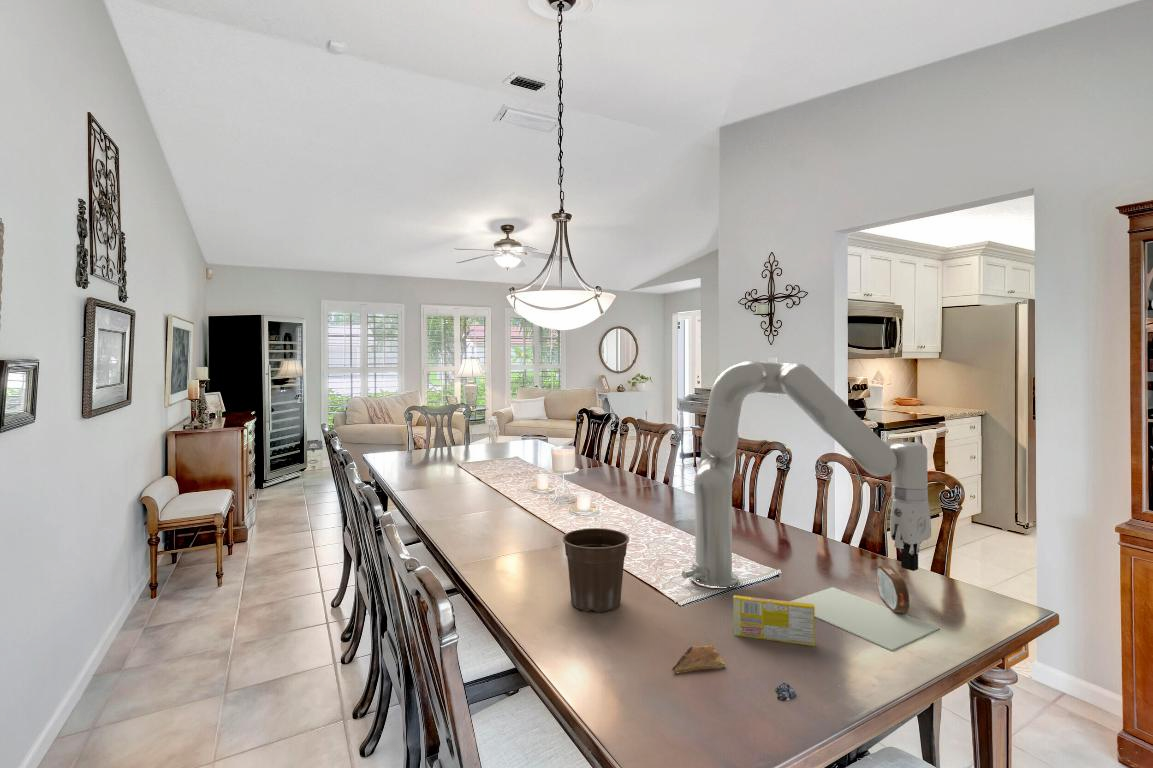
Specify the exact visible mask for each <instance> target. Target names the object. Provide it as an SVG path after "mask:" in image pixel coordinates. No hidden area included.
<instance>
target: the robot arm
mask: <svg viewBox="0 0 1153 768" xmlns="http://www.w3.org/2000/svg"><path fill="white" fill-rule="evenodd" d="M755 393H763V394H764V393H765V394H775V395H776V394H777V395H787V396H788V398H790V399H791V400H792V401H793V402H794V404H796V405H797V406H798V407H799V409H801V410H802V411H803V413H805V414H806V415H807V416H808V417H809V418H810V419H811V420H812V421H813V422H814V424H815V425H816V426H818V427H819V428H820V429H821V430H822V431H823V432H824V433H825V434H827V435H828V436H829V437H830V438H832V440H835V442H836V443H837V444H839V445H840V447H842V448H843V449H844V450H845V451H846V453H848V454H849V455H850V457H852V458H853V459H854V460H855V461H856V462H857V463H858V465H859V466H860V467H861V468H863V470H865V472H867V473H868V474H870V475H872V476H874V477H880V478H881V477H882V478H883V477H887V476H889V475H890V474H891V475H890V476H891V478H890V479H891V484H890V485H891V499H892V500H891V501H892V502H891V509H890V510H891V511H890V519H889V521H890V522H889V524H890V526H889V529H890V538H891V540H892V541H894V545H893V546H894V548H896V549H899V552H900V558H901V559H900V567H901V568H902V569H905V570H909V571H913V572H914V571H917V570H919V553H920V546H921V544H922V543H923V542H925V541H928V540H929V539H931V537H932V521H931V511H930V503H929V500H928V497H929V495H928V492H929V491H928V485H929V483H928V448H927V446H926V445H925V444H923V443H920V442H913V441H899V442H891V441H883V440H882V438H880V437H879V436H878V435H877V434H876V432H874V430H872V429H871V427H869V426H868V425H867V424H866V423H865V422H864V421H863V420H862V419H861V418H860V417H859V415H857V414H856V413H855V412H854V410H852V408H851V407H850V406H849V405H848V404H847V403H846V402H845V401H844V400H843V399H841V397H840V396H839V395H838V394H837V393H836V392H835V391H834V390H832V389H831V388H830V386H828V385H827V383H825V381H823V379H822V378H820V377H819V376H818V375H817V374H816V373H815V372H814V370H812V369H811V368H810V367H808V366H807V365H805V364H803V363H799V362H769V361H768V362H767V361H757V360H756V361H754V360H746V361H745V360H744V361H742V362H739V363H737V364H734V365H732V366H730V367H728V368H726V369H725V370H724V371H723V372H721V373H720V375H718V377H717V378H716V379H715V381H714V382H713V384H712V387H711V389H710V394H709V398H708V404H707V409H706V416H705V420H704V427H703V431H702V435H701V444H702V445H701V452H700V458H699V459H700V460H699V464H698V465H699V466H698V469H697V471H696V473H695V476H694V483H693V491H694V511H695V512H694V514H695V515H694V517H695V518H694V519H695V521H694V523H695V524H694V525H695V527H694V528H695V537H694V539H695V544H694V545H695V548H694V549H695V550H694V551H695V562H693V563H692V567H691V568H690V569H686V570H682V572H681V577H682V578H683V579H688V578H689V579H690V577H691V579H693V580H694V581H696V582H698V583H700V584H704V585H709V586H717V587H718V586H719V587H730V586H733V585H735V584H736V583H737V582H739V577H738V575H737V574H736V573H735V572H733V509H732V508H733V498H732V497H733V495H732V494H733V481H734V479H733V478H734V473H735V472H734V470H735V463H736V459H737V451H738V445H739V432H738V431H739V425H740V424H739V423H740V417H741V411H742V405H743V402H744V400H745V398H746V397H747V396H748V395H752V394H755ZM697 580H699V581H697ZM737 584H738V583H737ZM737 584H736V585H737ZM736 585H735V586H736ZM733 587H734V586H733ZM730 588H731V587H730Z"/></svg>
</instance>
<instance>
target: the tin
mask: <svg viewBox="0 0 1153 768" xmlns="http://www.w3.org/2000/svg"><path fill="white" fill-rule="evenodd" d="M876 587H877V591H878V594H879V597H880V599H881V600H882V601H883V602H884V603H885V605H886V607H887V608H889V609H891V610H892V611H893V612H895V613H903V614H905V615H907V614H908V613H909V610H910V609H909V608H910V594H909V589H908V586H907V582H906V580H905V578H904V577H903V576H902V575H901V574H900V573H899V571H897V570H896V569H895V568H894V567H893V566H892V565H890V564H888V565H882V564H880V565H878V566H877V568H876Z"/></svg>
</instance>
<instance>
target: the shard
mask: <svg viewBox="0 0 1153 768" xmlns="http://www.w3.org/2000/svg"><path fill="white" fill-rule="evenodd" d="M722 667H726V663H725V661H724V660H723V657H722V656H721V655H720V653H718V651H717V650H716V649H715V647H714V646H713V645H704V646H690V647H688V649H687V650H686V652H684V654H683V655H682V656H680V658H679V660H678V661H677V663H676V664H675V666H673V667H672V668H671V671H673V673H677V672H684V673H688V672H687V671H689V672H693V671H692V670H696V671H699V669H700V671H701V669H703V670H709V668H710V670H711V668H712V669H713V668H714V669H722ZM685 671H686V672H685ZM677 674H678V673H677Z"/></svg>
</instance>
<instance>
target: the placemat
mask: <svg viewBox="0 0 1153 768" xmlns="http://www.w3.org/2000/svg"><path fill="white" fill-rule="evenodd" d="M790 602H799V603H808V604H814V606H815V618H816V619H818V620H821V621H823V622H824V623H828V624H830V625H831V626H834V627H836V628H838V627H839V628H838V629H841V630H843V631H845V632H847V631H848V633H849V634H852V635H854V636H857V637H858V638H861V639H863V640H866V641H868V642H870V643H872V644H875V645H877V646H880V647H881V648H884V649H886V650H887V651H890V652H893V651H895V650H898V649H900V648H901V647H904V646H906V645H908V644H910V643H913V642H915V641H918V640H919V639H921V638H924V637H926V636H928V635H930V634H932V633H935V632H936V630H937V631H938V629H939V630H940V629H941V627H939V626H937V625H934V624H931V623H929V622H927V621H925V620H924V621H923V620H921V619H919V618H916V617H913V616H910V615H908V614H905V613H895V612H893V611H892V610H891V609H890V608H889V607H888V606H883V605H882V604H879V603H876V602H873V601H871V600H868V599H865V598H863V597H860V596H857V595H854V594H852V593H850V592H847V591H844V590H841V589H838V588H836V587H833V586H831V587H829V588H825V589H823V590H819V591H816V592H813V593H810V594H808V595H805V596H802V597H799V598H796V599H793V600H790ZM934 631H935V632H934Z"/></svg>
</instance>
